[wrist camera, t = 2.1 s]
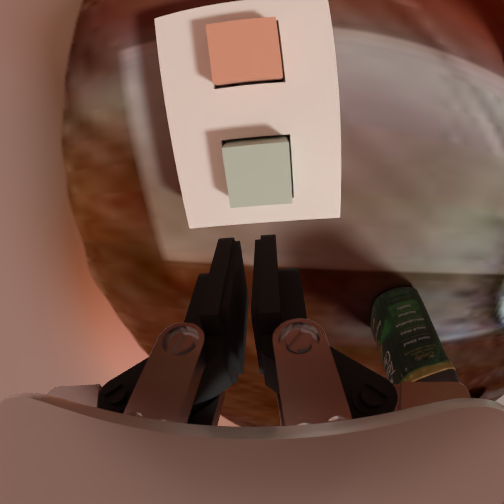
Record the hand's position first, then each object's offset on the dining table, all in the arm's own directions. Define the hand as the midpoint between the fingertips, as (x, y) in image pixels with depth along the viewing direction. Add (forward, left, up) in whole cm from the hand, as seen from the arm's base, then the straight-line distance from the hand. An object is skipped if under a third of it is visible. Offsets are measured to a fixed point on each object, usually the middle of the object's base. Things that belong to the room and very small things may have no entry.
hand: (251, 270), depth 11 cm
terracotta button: (0, -10, -15) cm, 18 cm away
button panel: (0, -5, -19) cm, 20 cm away
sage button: (0, 0, -15) cm, 15 cm away
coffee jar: (-18, +23, -19) cm, 35 cm away
